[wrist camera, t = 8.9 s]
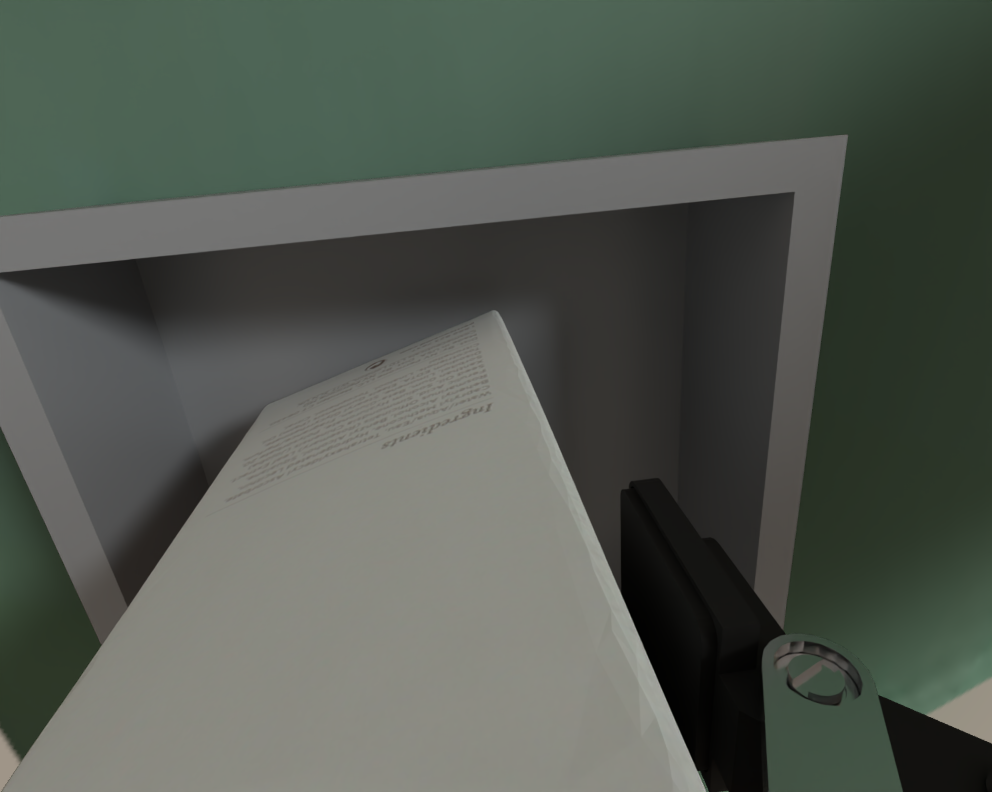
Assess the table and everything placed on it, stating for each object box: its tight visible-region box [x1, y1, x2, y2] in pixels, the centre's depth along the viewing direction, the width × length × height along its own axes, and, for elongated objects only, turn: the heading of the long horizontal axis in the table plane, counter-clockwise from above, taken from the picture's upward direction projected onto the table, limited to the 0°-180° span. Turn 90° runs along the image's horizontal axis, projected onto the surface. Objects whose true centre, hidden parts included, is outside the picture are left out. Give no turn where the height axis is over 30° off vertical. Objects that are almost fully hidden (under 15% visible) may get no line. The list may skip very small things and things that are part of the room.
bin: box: [0, 135, 848, 645], centre depth 14 cm, size 15×15×5 cm
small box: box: [1, 310, 706, 792], centre depth 9 cm, size 8×6×10 cm
